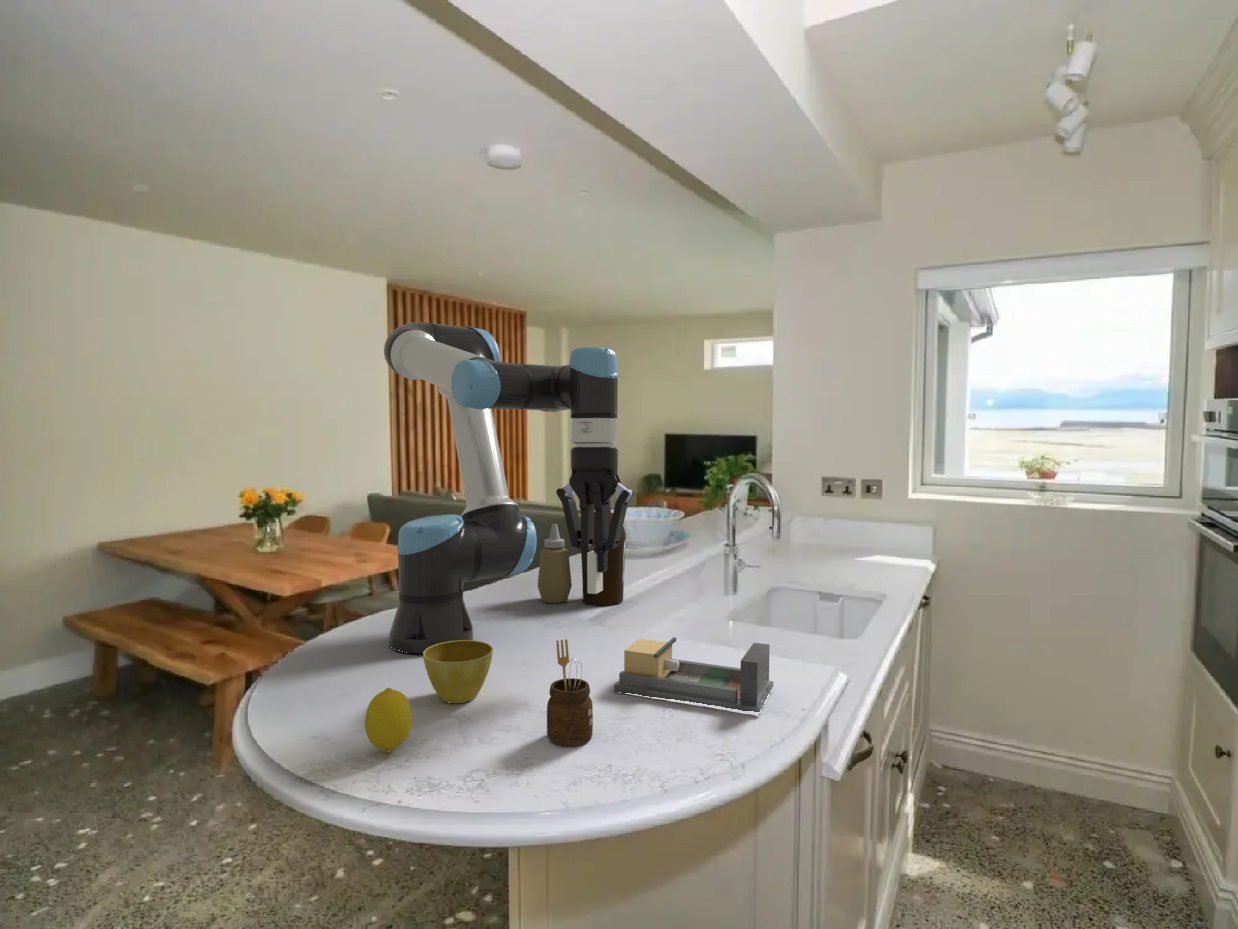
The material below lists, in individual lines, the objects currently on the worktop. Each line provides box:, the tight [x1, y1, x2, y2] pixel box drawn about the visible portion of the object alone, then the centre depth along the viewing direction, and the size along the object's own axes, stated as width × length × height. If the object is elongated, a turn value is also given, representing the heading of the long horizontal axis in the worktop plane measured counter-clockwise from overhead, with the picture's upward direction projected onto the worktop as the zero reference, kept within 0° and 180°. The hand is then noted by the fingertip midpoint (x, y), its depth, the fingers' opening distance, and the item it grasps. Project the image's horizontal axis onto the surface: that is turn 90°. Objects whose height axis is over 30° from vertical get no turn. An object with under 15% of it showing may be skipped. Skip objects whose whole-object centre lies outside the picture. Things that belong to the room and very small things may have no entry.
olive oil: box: [580, 499, 627, 607], centre depth 159 cm, size 11×11×25 cm
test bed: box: [613, 642, 774, 712], centre depth 104 cm, size 22×11×7 cm, turn 67°
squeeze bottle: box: [537, 523, 573, 604], centre depth 159 cm, size 8×8×18 cm
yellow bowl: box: [422, 639, 494, 704], centre depth 101 cm, size 10×10×7 cm
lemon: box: [364, 687, 413, 752], centre depth 84 cm, size 6×6×8 cm
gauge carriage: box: [623, 637, 679, 677], centre depth 107 cm, size 8×9×5 cm
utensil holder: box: [546, 638, 594, 748], centre depth 88 cm, size 6×6×12 cm
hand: (595, 591), depth 110 cm, fingers closed
